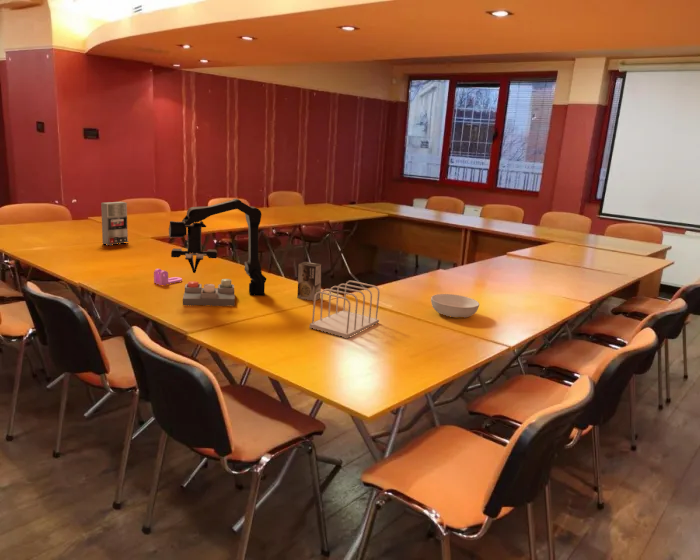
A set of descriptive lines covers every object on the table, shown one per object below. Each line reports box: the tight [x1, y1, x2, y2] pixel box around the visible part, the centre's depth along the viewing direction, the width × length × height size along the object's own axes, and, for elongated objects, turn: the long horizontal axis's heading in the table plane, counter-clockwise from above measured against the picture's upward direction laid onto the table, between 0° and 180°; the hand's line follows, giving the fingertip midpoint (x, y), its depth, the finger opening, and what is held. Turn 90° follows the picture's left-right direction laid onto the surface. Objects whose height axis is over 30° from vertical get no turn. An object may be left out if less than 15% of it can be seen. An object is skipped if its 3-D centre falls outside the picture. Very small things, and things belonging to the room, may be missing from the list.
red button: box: [187, 280, 200, 288], centre depth 244 cm, size 4×4×3 cm
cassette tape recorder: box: [100, 201, 129, 246], centre depth 337 cm, size 14×6×25 cm, turn 147°
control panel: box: [182, 283, 236, 307], centre depth 242 cm, size 21×17×5 cm
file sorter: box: [309, 280, 381, 339], centre depth 221 cm, size 25×17×16 cm
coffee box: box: [297, 261, 323, 302], centre depth 255 cm, size 9×6×16 cm
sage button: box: [220, 278, 232, 288], centre depth 247 cm, size 4×4×3 cm
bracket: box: [153, 268, 183, 286], centre depth 265 cm, size 13×6×7 cm, turn 145°
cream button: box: [203, 283, 216, 293], centre depth 237 cm, size 4×4×3 cm
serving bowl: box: [430, 293, 480, 318], centre depth 247 cm, size 21×21×7 cm
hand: (194, 272), depth 243 cm, fingers closed
